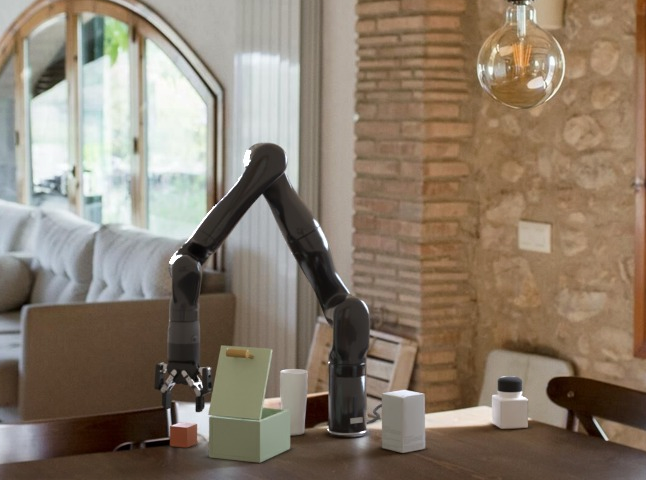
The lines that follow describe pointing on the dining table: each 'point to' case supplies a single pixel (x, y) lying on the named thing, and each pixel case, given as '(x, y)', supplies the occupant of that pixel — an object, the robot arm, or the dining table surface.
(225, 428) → the chest
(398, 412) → the white packaging box
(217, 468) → the dining table surface
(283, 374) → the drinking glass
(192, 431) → the block
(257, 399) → the lid
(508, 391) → the medicine bottle
